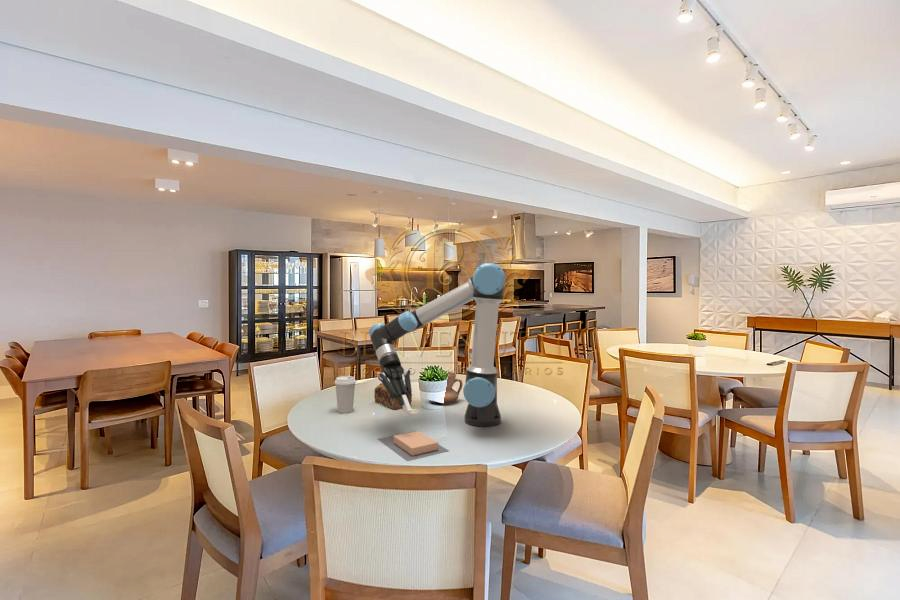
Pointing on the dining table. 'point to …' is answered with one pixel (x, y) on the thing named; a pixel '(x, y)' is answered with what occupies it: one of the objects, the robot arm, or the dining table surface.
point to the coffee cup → (345, 393)
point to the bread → (387, 397)
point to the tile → (415, 443)
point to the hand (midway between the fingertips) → (408, 412)
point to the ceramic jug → (450, 393)
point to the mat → (405, 455)
